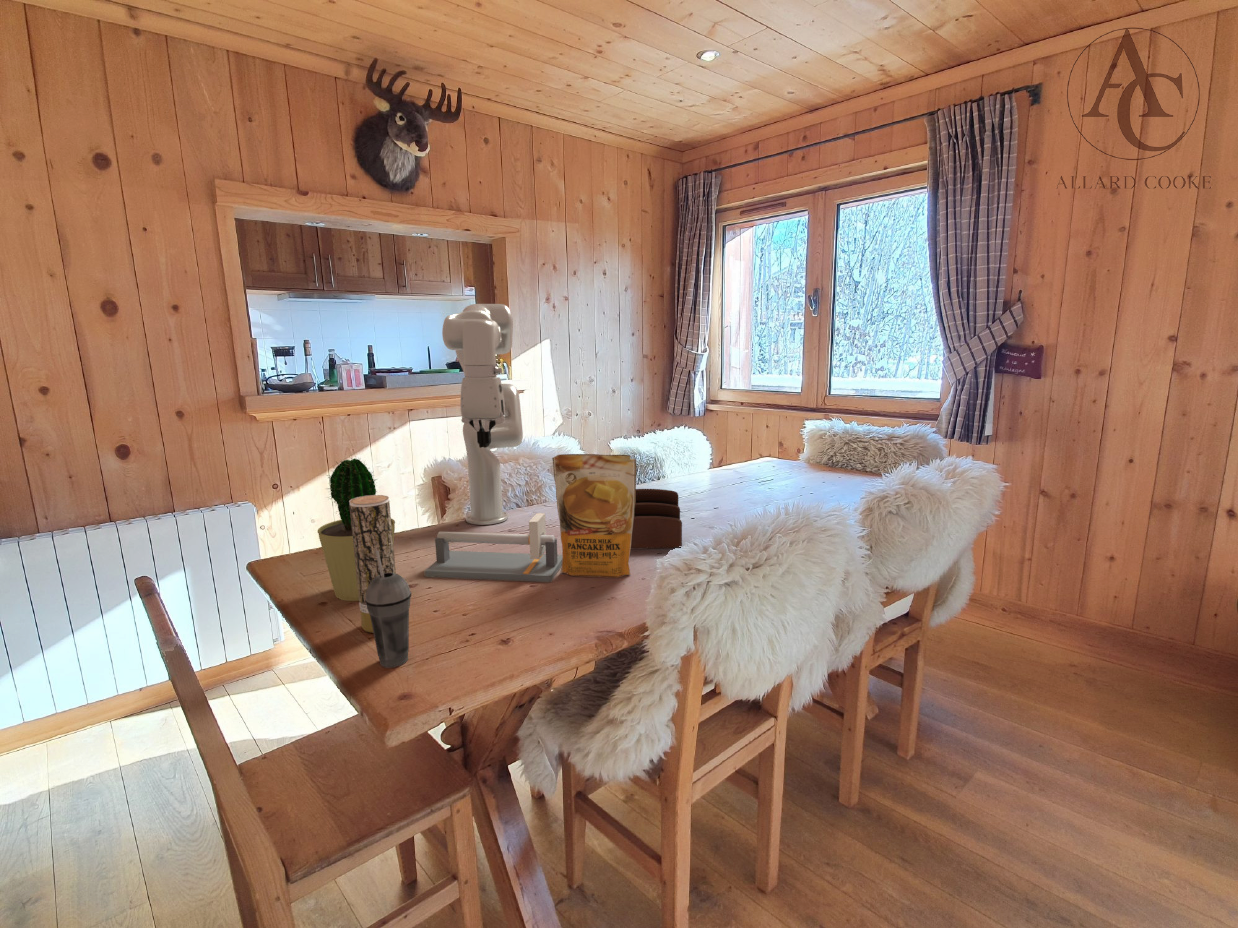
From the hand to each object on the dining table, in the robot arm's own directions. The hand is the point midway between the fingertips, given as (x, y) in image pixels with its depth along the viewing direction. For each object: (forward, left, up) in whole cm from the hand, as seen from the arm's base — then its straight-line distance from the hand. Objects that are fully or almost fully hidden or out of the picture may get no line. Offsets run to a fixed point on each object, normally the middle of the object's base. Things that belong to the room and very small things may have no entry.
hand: (484, 446), depth 151 cm
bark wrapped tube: (+43, -7, -28) cm, 51 cm away
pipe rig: (+11, +5, -28) cm, 30 cm away
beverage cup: (+55, +2, -28) cm, 61 cm away
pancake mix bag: (+11, +29, -28) cm, 42 cm away
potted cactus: (+27, -20, -28) cm, 43 cm away
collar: (+11, +16, -24) cm, 31 cm away
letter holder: (-12, +38, -28) cm, 49 cm away
